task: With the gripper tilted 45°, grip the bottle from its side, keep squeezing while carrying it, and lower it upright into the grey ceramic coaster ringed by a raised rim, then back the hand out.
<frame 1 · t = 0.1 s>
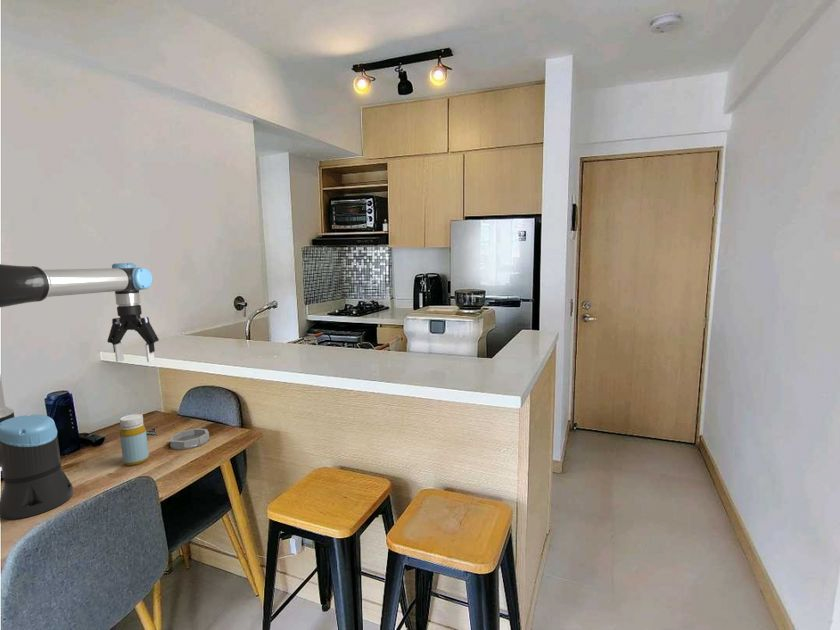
hand: (135, 361, 165), 28 cm above the table, tool pointing down, fingers open, 13 cm apart
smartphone: (165, 429, 173), on the table
bottle: (136, 462, 142), on the table
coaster: (190, 442, 157), on the table
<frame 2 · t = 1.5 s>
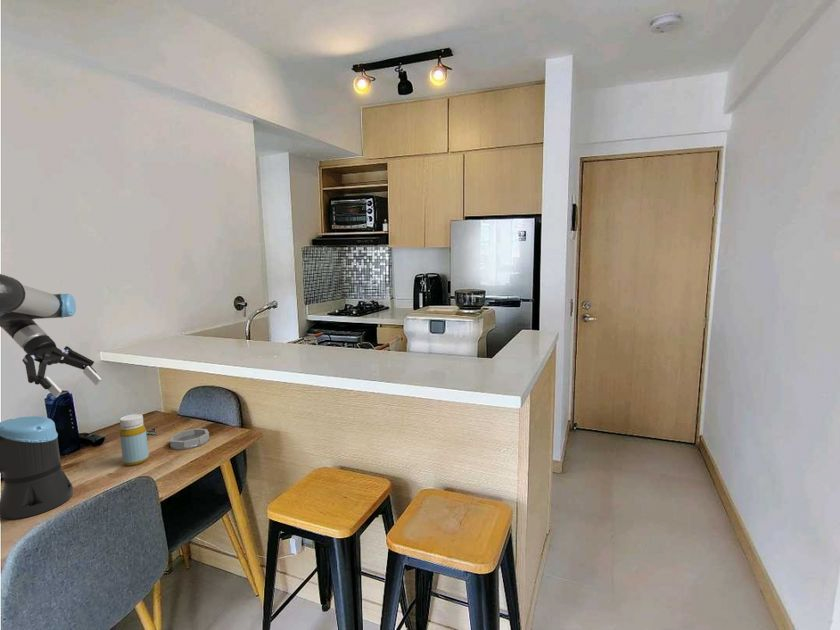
hand: (79, 388, 142), 25 cm above the table, tool tilted 45°, fingers open, 13 cm apart
nothing on the table moved.
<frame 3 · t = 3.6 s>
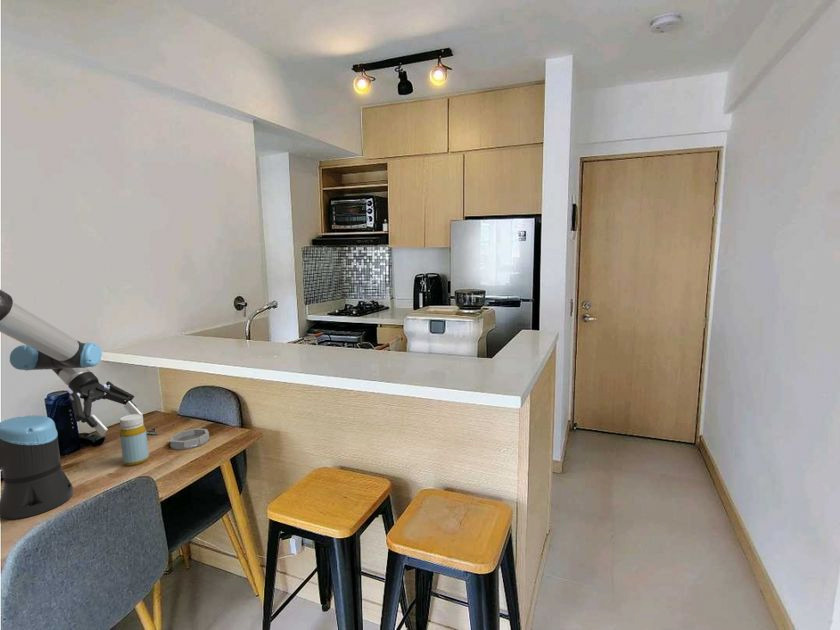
hand: (123, 424, 144), 11 cm above the table, tool tilted 45°, fingers open, 13 cm apart
nothing on the table moved.
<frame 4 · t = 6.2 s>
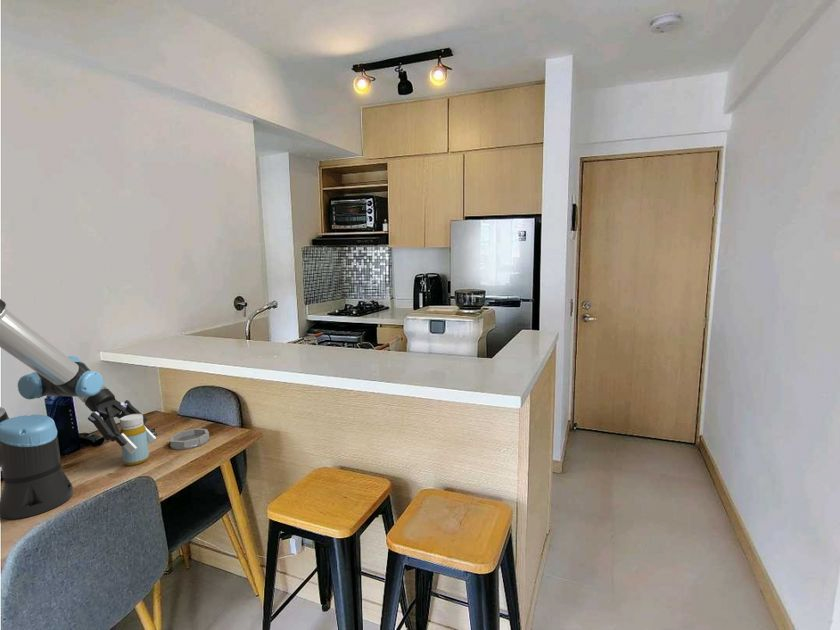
hand: (143, 445, 141), 6 cm above the table, tool tilted 45°, fingers closed on bottle, 7 cm apart
bottle: (136, 462, 142), on the table, touching gripper
everything else where it was.
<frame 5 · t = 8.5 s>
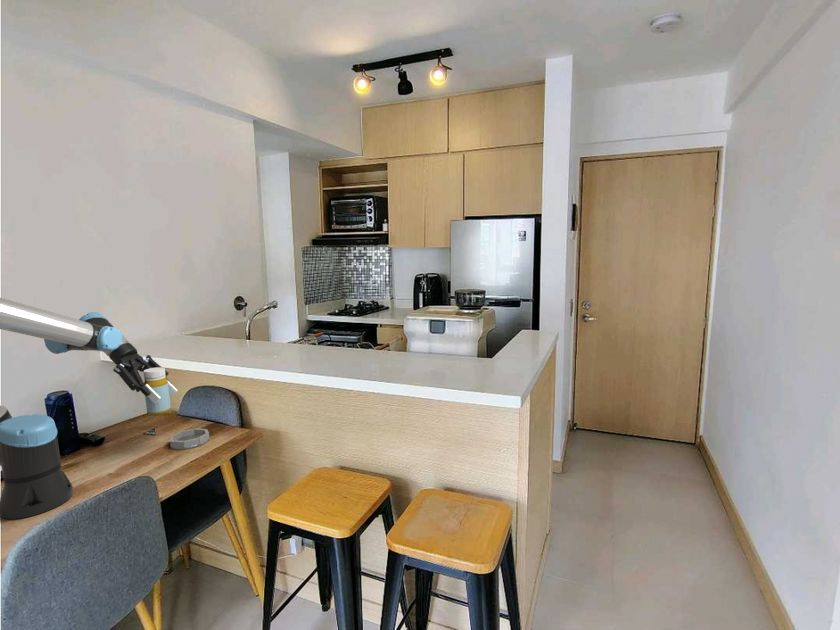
hand: (166, 397, 147), 19 cm above the table, tool tilted 45°, fingers closed on bottle, 7 cm apart
bottle: (159, 412, 149), point 13 cm above the table, touching gripper
everything else where it was.
when the fingers open (7 cm above the table, at t = 11.3 s): bottle drops 1 cm, resting on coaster.
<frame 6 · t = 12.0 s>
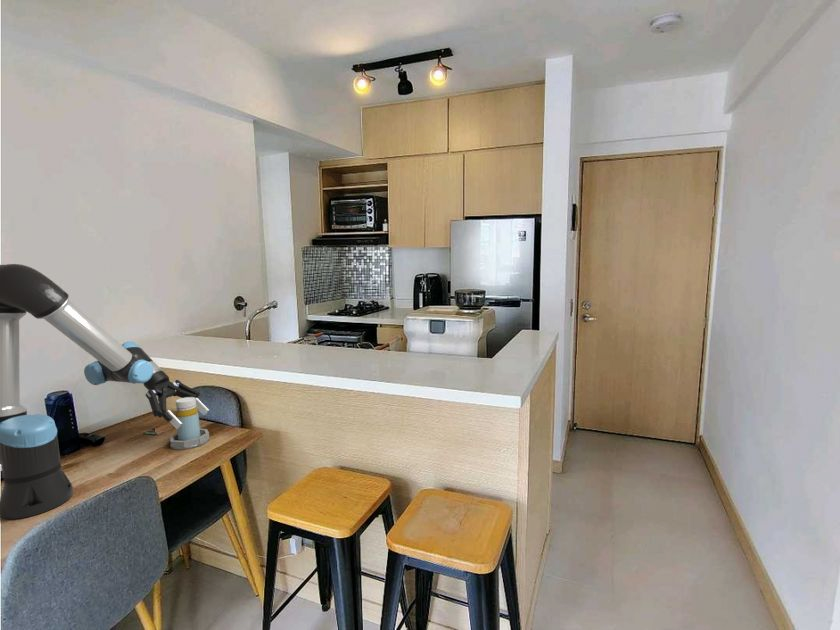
hand: (193, 419, 155), 9 cm above the table, tool tilted 45°, fingers open, 13 cm apart
bottle: (189, 440, 156), point 1 cm above the table, touching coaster
everything else where it was.
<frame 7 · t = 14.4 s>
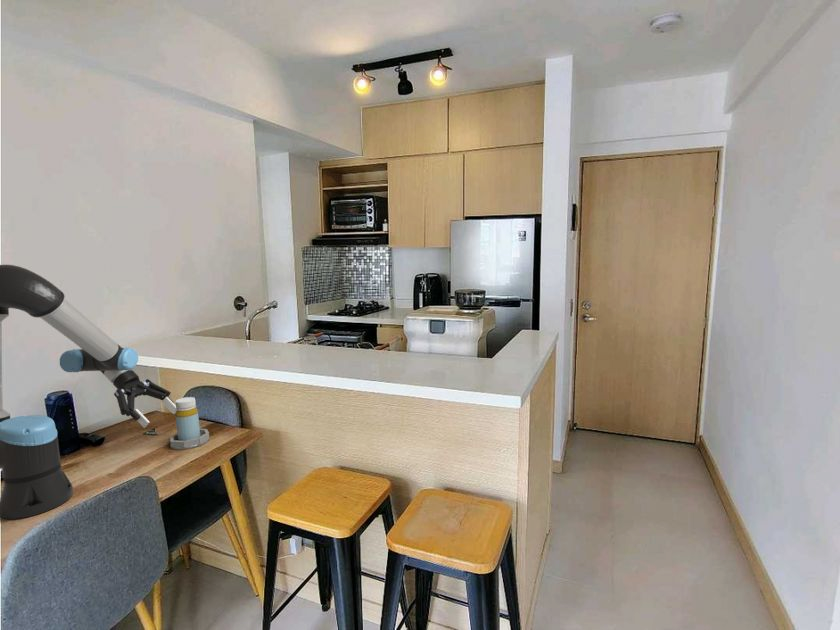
hand: (162, 418, 158), 9 cm above the table, tool tilted 45°, fingers open, 13 cm apart
nothing on the table moved.
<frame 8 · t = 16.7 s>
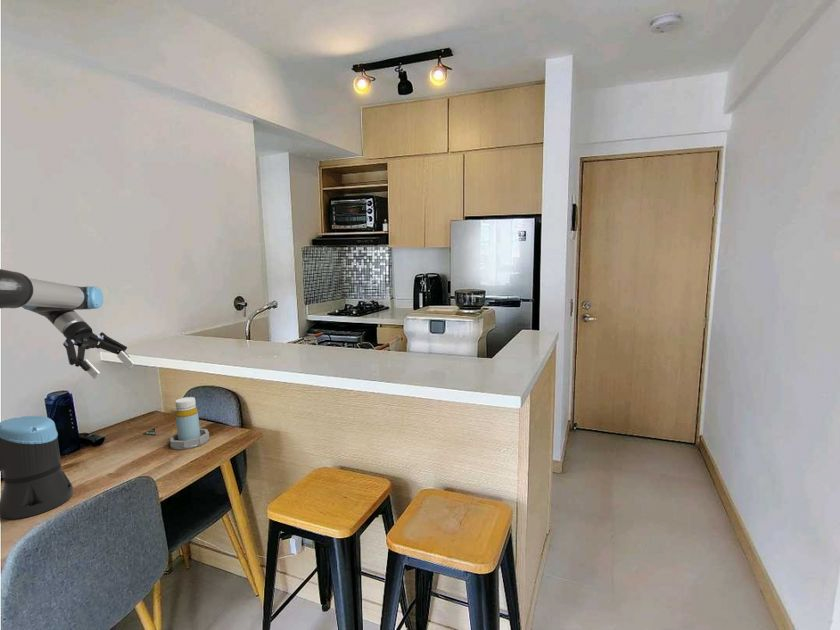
hand: (115, 371, 151), 28 cm above the table, tool tilted 45°, fingers open, 13 cm apart
nothing on the table moved.
at the end: bottle 0.1 cm off-centre on the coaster, point 0.6 cm above the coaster's base; bottle tilted 0°; the gripper is holding nothing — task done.
